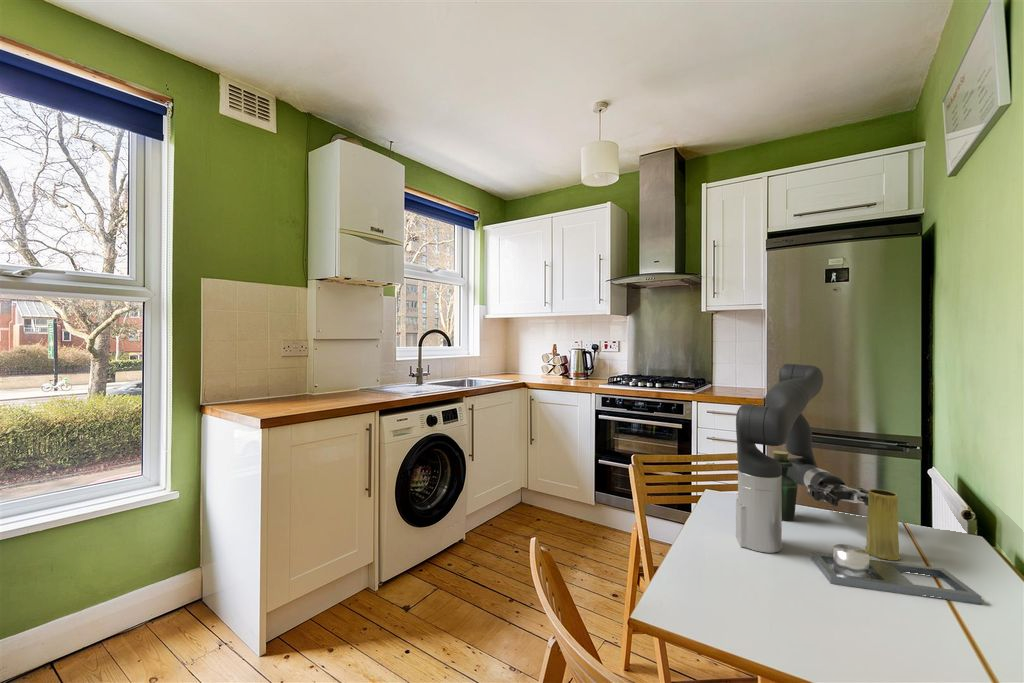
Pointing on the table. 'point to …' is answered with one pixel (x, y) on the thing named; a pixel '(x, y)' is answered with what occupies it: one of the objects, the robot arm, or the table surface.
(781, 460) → the potion bottle
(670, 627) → the table surface
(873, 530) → the vase
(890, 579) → the grey rectangular frame
